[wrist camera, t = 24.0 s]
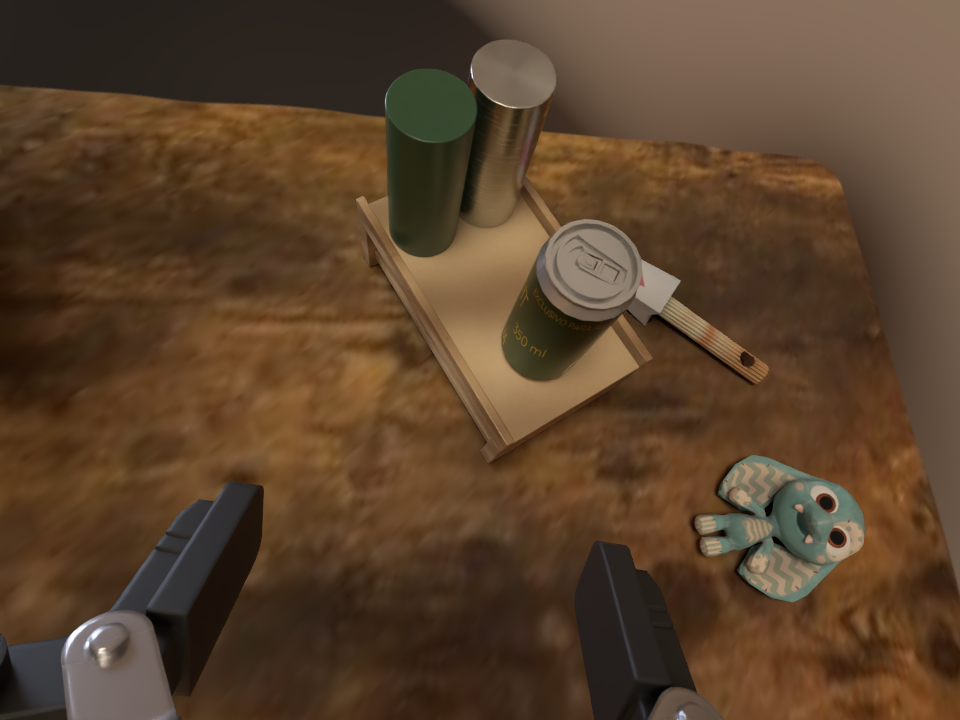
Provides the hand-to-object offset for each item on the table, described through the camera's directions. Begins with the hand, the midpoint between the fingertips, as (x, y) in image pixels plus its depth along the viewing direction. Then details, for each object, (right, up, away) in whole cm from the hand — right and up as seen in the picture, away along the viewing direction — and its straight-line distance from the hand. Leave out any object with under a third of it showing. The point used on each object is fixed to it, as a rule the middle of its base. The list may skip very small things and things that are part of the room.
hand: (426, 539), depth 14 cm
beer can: (+5, +5, +25) cm, 27 cm away
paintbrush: (+17, +8, +36) cm, 40 cm away
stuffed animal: (+23, -9, +31) cm, 39 cm away
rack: (+2, +7, +33) cm, 34 cm away
